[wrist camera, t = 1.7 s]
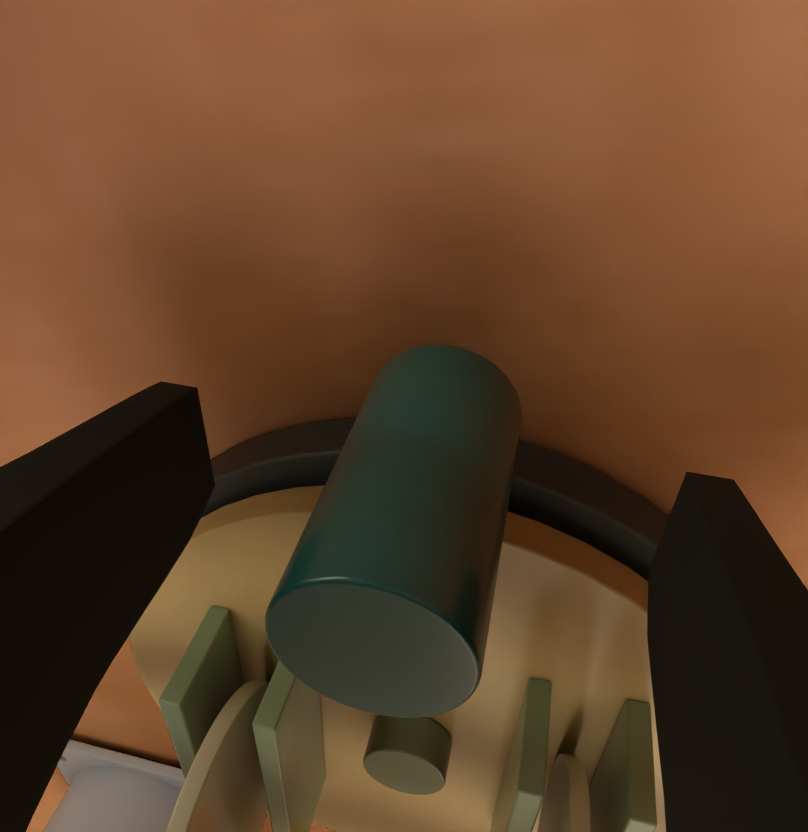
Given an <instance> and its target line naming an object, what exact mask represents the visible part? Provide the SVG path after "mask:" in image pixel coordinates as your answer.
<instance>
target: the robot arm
mask: <svg viewBox="0 0 808 832" xmlns="http://www.w3.org/2000/svg"><path fill="white" fill-rule="evenodd" d="M214 487H215V482H214V476H213V471H212V465H211V460H210V455H209V449H208V444H207V438H206V433H205V428H204V422H203V417H202V411H201V406H200V401H199V395H198V390H197V388H196V387H190V386H184V385H179V384H173V383H167V382H159V383H156V384H154V385H152V386H150V387H148V388H146V389H144V390H142V391H140V392H138V393H136V394H135V395H133V396H131V397H129V398H127V399H125V400H123V401H122V402H120V403H118V404H116V405H114V406H113V407H111V408H109V409H107V410H105V411H104V412H102V413H100V414H98V415H96V416H95V417H93V418H91V419H89V420H87V421H86V422H84V423H82V424H80V425H78V426H77V427H75V428H73V429H71V430H69V431H67V432H66V433H64V434H62V435H60V436H58V437H57V438H55V439H53V440H51V441H49V442H47V443H46V444H44V445H42V446H40V447H38V448H37V449H35V450H33V451H31V452H29V453H27V454H25V455H23V456H21V457H19V458H17V459H15V460H13V461H11V462H9V463H8V464H6V465H4V466H2V467H0V832H26V830H27V828H28V825H29V823H30V821H31V819H32V816H33V814H34V812H35V810H36V808H37V806H38V804H39V802H40V800H41V798H42V796H43V793H44V791H45V789H46V787H47V785H48V783H49V781H50V779H51V777H52V775H53V773H54V771H55V769H56V766H58V768H59V770H60V772H61V773H62V775H63V777H64V779H65V780H66V782H67V784H68V786H69V789H68V790H67V792H66V794H65V795H64V797H63V799H62V800H61V802H60V804H59V805H58V807H57V809H56V811H55V812H54V814H53V816H52V817H51V819H50V821H49V822H48V824H47V826H46V827H45V829H44V831H43V832H166V830H167V827H168V824H169V821H170V818H171V816H172V813H173V810H174V807H175V805H176V802H177V799H178V796H179V794H180V791H181V789H182V787H183V784H184V782H185V778H184V775H183V772H182V769H180V768H176V767H172V766H168V765H165V764H161V763H157V762H153V761H150V760H146V759H142V758H138V757H135V756H131V755H127V754H123V753H120V752H116V751H112V750H108V749H105V748H101V747H97V746H93V745H90V744H86V743H82V742H78V741H75V740H71V739H70V738H71V736H72V734H73V732H74V730H75V728H76V727H77V725H78V723H79V721H80V719H81V717H82V715H83V713H84V711H85V709H86V707H87V705H88V703H89V701H90V699H91V697H92V695H93V693H94V692H95V690H96V688H97V686H98V685H99V683H100V681H101V679H102V678H103V676H104V674H105V673H106V671H107V669H108V668H109V666H110V664H111V663H112V661H113V659H114V658H115V656H116V655H117V653H118V652H119V650H120V649H121V647H122V645H123V644H124V642H125V641H126V639H127V638H128V636H129V635H130V633H131V632H132V630H133V629H134V627H135V625H136V624H137V622H138V621H139V619H140V618H141V616H142V615H143V613H144V612H145V610H146V608H147V607H148V605H149V604H150V602H151V601H152V599H153V598H154V596H155V595H156V593H157V592H158V590H159V588H160V587H161V585H162V584H163V582H164V581H165V579H166V578H167V576H168V574H169V573H170V571H171V570H172V568H173V567H174V565H175V563H176V562H177V560H178V559H179V557H180V555H181V554H182V552H183V551H184V549H185V547H186V546H187V544H188V543H189V541H190V539H191V537H192V535H193V533H194V531H195V529H196V527H197V525H198V522H199V520H200V518H201V516H202V514H203V512H204V510H205V507H206V505H207V503H208V501H209V498H210V496H211V494H212V492H213V489H214ZM647 641H648V651H649V662H650V671H651V681H652V691H653V701H654V710H655V719H656V729H657V738H658V747H659V757H660V766H661V775H662V785H663V794H664V808H665V823H666V832H808V590H807V588H806V587H805V586H804V584H803V583H802V581H801V580H800V578H799V577H798V576H797V574H796V573H795V571H794V570H793V568H792V567H791V565H790V564H789V562H788V561H787V559H786V558H785V556H784V555H783V553H782V552H781V550H780V549H779V547H778V546H777V544H776V543H775V541H774V540H773V538H772V537H771V535H770V534H769V532H768V531H767V529H766V528H765V526H764V525H763V523H762V522H761V520H760V519H759V517H758V515H757V514H756V512H755V511H754V509H753V508H752V506H751V505H750V503H749V502H748V500H747V499H746V497H745V496H744V494H743V493H742V491H741V490H740V488H739V487H738V485H737V484H736V482H735V481H734V480H732V479H726V478H720V477H715V476H709V475H703V474H697V473H691V472H686V475H685V477H684V480H683V482H682V485H681V488H680V490H679V493H678V495H677V498H676V501H675V503H674V506H673V508H672V511H671V513H670V516H669V519H668V521H667V524H666V526H665V529H664V532H663V534H662V537H661V539H660V542H659V545H658V547H657V550H656V552H655V555H654V558H653V560H652V563H651V565H650V568H649V575H648V608H647Z"/></svg>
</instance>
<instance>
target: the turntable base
mask: <svg viewBox="0 0 808 832" xmlns="http://www.w3.org/2000/svg"><path fill="white" fill-rule="evenodd" d="M356 418H357V417H355V418H345V419H336V420H327V421H317V422H310V423H306V424H301V425H297V426H293V427H289V428H284V429H280V430H276V431H272V432H269V433H267V434H264V435H262V436H259V437H257V438H254V439H252V440H249V441H247V442H244V443H241V444H239V445H237V446H235V447H233V448H232V449H230V450H228V451H227V452H225V453H223V454H221V455H220V456H218V457H216V458H215V459H213V460H211V465H212V471H213V476H214V482H215V487H214V489H213V492H212V494H211V496H210V498H209V501H208V503H207V505H206V507H205V510H204V512H203V514H202V516H201V518H202V517H204V516H206V515H208V514H210V513H212V512H214V511H216V510H217V509H219V508H221V507H223V506H226V505H229V504H232V503H235V502H238V501H241V500H243V499H246V498H249V497H252V496H255V495H259V494H264V493H269V492H275V491H280V490H285V489H290V488H295V487H309V486H323V485H325V484H326V482H327V480H328V478H329V475H330V473H331V471H332V469H333V467H334V465H335V463H336V461H337V458H338V456H339V454H340V452H341V450H342V448H343V446H344V444H345V441H346V439H347V437H348V435H349V433H350V431H351V429H352V427H353V424H354V422H355V420H356ZM508 512H511V513H514V514H517V515H520V516H523V517H526V518H529V519H532V520H535V521H538V522H541V523H543V524H545V525H547V526H550V527H552V528H554V529H556V530H559V531H561V532H563V533H565V534H567V535H570V536H572V537H574V538H576V539H579V540H581V541H583V542H585V543H587V544H589V545H591V546H593V547H594V548H596V549H598V550H599V551H601V552H603V553H605V554H606V555H608V556H610V557H612V558H613V559H615V560H617V561H619V562H620V563H622V564H624V565H626V566H627V567H629V568H630V569H632V570H633V571H634V572H636V573H637V574H639V575H640V576H641V577H643V578H644V579H645V580H647V581H648V575H649V568H650V565H651V563H652V560H653V558H654V555H655V552H656V550H657V547H658V545H659V542H660V539H661V537H662V534H663V532H664V529H665V526H666V524H667V521H668V519H669V517H668V516H667V515H666V514H664V513H663V512H662V511H660V510H659V509H658V508H657V507H655V506H654V505H653V504H651V503H650V502H649V501H647V500H646V499H645V498H643V497H642V496H640V495H638V494H637V493H635V492H633V491H632V490H630V489H628V488H627V487H625V486H623V485H621V484H620V483H618V482H616V481H615V480H613V479H611V478H610V477H608V476H606V475H605V474H603V473H601V472H599V471H597V470H594V469H592V468H590V467H588V466H586V465H583V464H581V463H579V462H577V461H575V460H572V459H570V458H568V457H566V456H563V455H561V454H559V453H557V452H555V451H552V450H549V449H546V448H543V447H540V446H536V445H533V444H530V443H527V442H524V441H521V440H519V441H518V447H517V454H516V460H515V466H514V473H513V479H512V485H511V492H510V498H509V504H508ZM201 518H200V519H201Z"/></svg>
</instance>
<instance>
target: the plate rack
mask: <svg viewBox="0 0 808 832" xmlns="http://www.w3.org/2000/svg"><path fill="white" fill-rule="evenodd" d="M521 420H522V410H521V404H520V400H519V397H518V395H517V392H516V390H515V388H514V386H513V385H512V383H511V381H510V380H509V379H508V378H507V376H506V375H505V374H504V373H503V372H502V371H501V370H500V369H499V368H498V367H497V366H496V365H495V364H493V363H492V362H491V361H489V360H488V359H486V358H484V357H483V356H481V355H479V354H477V353H475V352H472V351H470V350H467V349H464V348H461V347H456V346H451V345H441V344H438V345H424V346H419V347H415V348H411V349H409V350H406V351H404V352H402V353H400V354H398V355H396V356H395V357H393V358H392V359H391V360H389V361H388V362H387V363H386V364H385V365H384V366H383V367H382V368H381V370H380V371H379V373H378V374H377V376H376V378H375V380H374V382H373V384H372V386H371V388H370V390H369V393H368V395H367V397H366V399H365V401H364V403H363V405H362V407H361V410H360V412H359V414H358V416H357V418H356V420H355V422H354V424H353V427H352V429H351V431H350V433H349V435H348V437H347V439H346V441H345V444H344V446H343V448H342V450H341V452H340V454H339V456H338V458H337V461H336V463H335V465H334V467H333V469H332V471H331V473H330V475H329V478H328V480H327V482H326V484H325V485H323V486H309V487H295V488H290V489H285V490H280V491H275V492H269V493H264V494H259V495H255V496H252V497H249V498H246V499H243V500H241V501H238V502H235V503H232V504H229V505H226V506H223V507H221V508H219V509H217V510H216V511H214V512H212V513H210V514H208V515H206V516H204V517H202V518H201V519H200V520H199V522H198V525H197V527H196V529H195V531H194V533H193V535H192V537H191V539H190V541H189V543H188V544H187V546H186V547H185V549H184V551H183V552H182V554H181V555H180V557H179V559H178V560H177V562H176V563H175V565H174V567H173V568H172V570H171V571H170V573H169V574H168V576H167V578H166V579H165V581H164V582H163V584H162V585H161V587H160V588H159V590H158V592H157V593H156V595H155V596H154V598H153V599H152V601H151V602H150V604H149V605H148V607H147V608H146V610H145V612H144V613H143V615H142V616H141V618H140V619H139V621H138V622H137V624H136V625H135V627H134V629H133V630H132V632H131V633H130V644H131V648H132V652H133V656H134V660H135V664H136V667H137V669H138V671H139V673H140V676H141V678H142V680H143V682H144V684H145V687H146V688H147V690H148V691H149V693H150V694H151V696H152V698H153V699H154V701H155V702H156V704H157V705H158V707H159V708H160V709H161V711H162V713H163V716H164V719H165V722H166V725H167V728H168V731H169V734H170V737H171V740H172V743H173V745H174V748H175V751H176V754H177V757H178V760H179V763H180V766H181V769H182V772H183V775H184V778H185V782H184V784H183V787H182V789H181V791H180V794H179V796H178V799H177V802H176V805H175V807H174V810H173V813H172V816H171V818H170V821H169V824H168V827H167V830H166V832H262V828H263V825H264V821H265V817H266V814H267V810H268V809H269V814H270V819H271V824H272V829H273V832H309V829H310V826H311V822H313V823H316V824H318V825H320V826H323V827H325V828H328V829H330V830H332V831H335V832H666V823H665V808H664V794H663V785H662V775H661V766H660V757H659V747H658V738H657V729H656V719H655V710H654V701H653V691H652V681H651V671H650V662H649V651H648V641H647V608H648V581H647V580H645V579H644V578H643V577H641V576H640V575H639V574H637V573H636V572H634V571H633V570H632V569H630V568H629V567H627V566H626V565H624V564H622V563H620V562H619V561H617V560H615V559H613V558H612V557H610V556H608V555H606V554H605V553H603V552H601V551H599V550H598V549H596V548H594V547H593V546H591V545H589V544H587V543H585V542H583V541H581V540H579V539H576V538H574V537H572V536H570V535H567V534H565V533H563V532H561V531H559V530H556V529H554V528H552V527H550V526H547V525H545V524H543V523H541V522H538V521H535V520H532V519H529V518H526V517H523V516H520V515H517V514H514V513H511V512H508V504H509V498H510V492H511V485H512V479H513V473H514V466H515V460H516V454H517V447H518V441H519V434H520V428H521Z"/></svg>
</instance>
